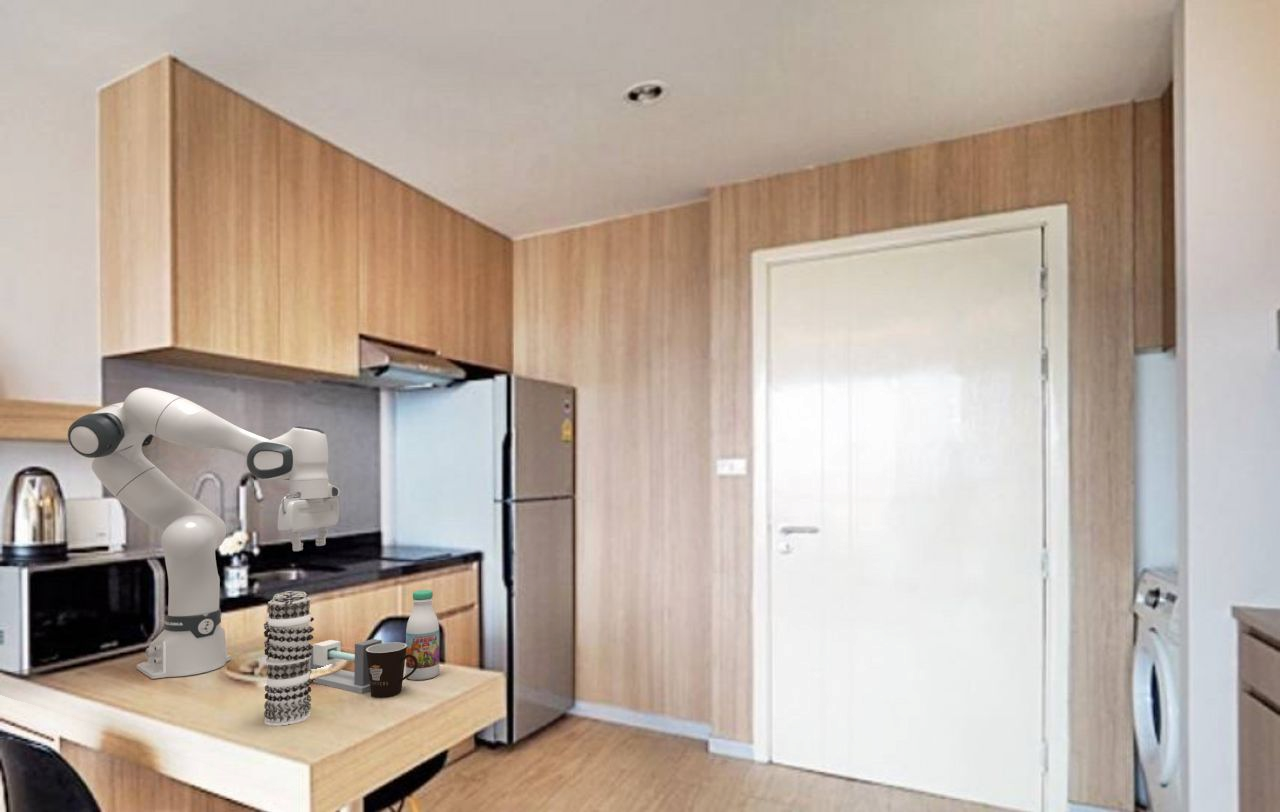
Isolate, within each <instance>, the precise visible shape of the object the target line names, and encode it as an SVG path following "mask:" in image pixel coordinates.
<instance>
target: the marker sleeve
mask: <svg viewBox="0 0 1280 812" xmlns="http://www.w3.org/2000/svg"><path fill="white" fill-rule="evenodd" d="M341 644H342V642H341V641H340V640H335V639H328V640H324V641H321V642H317V643H313V644H312V645H313V664H316V665H320V666H326V665H329V664H336V663H338V662H339V663H340V662H342V661H341V660H342V659H337V658H332V657H327V651H328V649H329V650H335V651H340V652H342V648H341V647H342V645H341Z"/></svg>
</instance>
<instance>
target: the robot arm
mask: <svg viewBox="0 0 1280 812" xmlns="http://www.w3.org/2000/svg"><path fill="white" fill-rule="evenodd" d="M154 437H155V438H158V439H160V440H162V441H166V442H167V443H172V444H174V445H179V446H182V447H188V448H199V449H200V448H203V449H219V450H225V451H229V452H232V453H236V454H238V455H241V456H243V457H246V467H247V469H248V471H249V473H250V474H251V475H252V476H253V477H255V478H258V479H261V480H265V481H266V480H267V481H274V480H275V481H278V480H284V481H289V493H286V494H285V495H284V497H283V499H281V503H280V504H279V508H278V516H277V531H278V532H279V534H288V538H289V540H290V542H291V544H292V551H293V552H300V551H303V549H304V547H303V546H304V542H301V538H300V537H301V535H302V532H304V531H305V532H306V531H310V530H315V529H317V532H318V535H317V538H315V546H316V547H321V546H322V547H323V546H325V545H326V543H327V542H326V538H327V536H328V533H329V528H330V527H332V526H337V524H338V522H339V518H340V502H339V498H338V497H340V495H341V494H340V493H341V490H340V488H338V487H337V486H335V485H333V484H331V483H330V482H329V479H330V478H329V474H328V466H329V462H330V461H329V459H330V458H329V447H328V445H329V444H328V438H327V435H326V433H325V431H323V430H322V429H319V428H315V427H308V426H294V427H292V428H291V429H290V430H288V431H287V432H285V433H283V434H281V435H280V436H279V435H278V436H277V437H274V438H272V439H270V438H268V437H265V436H262V435H259V434H258V433H254V432H252V431H249V430H247V429H245V428H242V427H240V426H237V425H235V424H233V423H232V422H230V421H228V420H226V419H225V418H223V417H220V416H219V415H217V414H215V413H214V412H211V411H210V410H208V409H206V408H204V407H203V406H202V405H199V404H197V403H195V402H193V401H191V400H189V399H187V398H185V397H182V396H180V395H176V394H174V393H172V392H167V391H166V390H165V391H163V390H160V389H157V388H152V387H140V388H137V389H135V390H133V391H131V392H130V393H129V394H128V395H127V397H125V399H124V401H122V402H117V403H113V404H109V405H107V406H104V407H102V408H101V409H98V410H96V411H94V412H93V411H92V413H88V414H85V415H83V416H81V417H79V418H78V419H76V420H75V421H73V422H72V423H71V424H70V426H69V428H68V430H67V440H68V443H69V446H70V447H71V448H72V449H73V451H75V452H76V453H77V454H79V455H81V456H82V457H85V458H90V459H93V460H92V462H91V470H92V472H93V473H94V475H95V476H96V478H98V480H99V481H100V483H101V484H102V485H103V486H104V487H105V488H106V489H107V491H108V492H109V493H110V494H111V495H113V496H114V497H115V498H116V499H117V500H118V501H119V502H120V503H121V504H123V506H125V507H126V508H127V509H128V510H129V511H131V512H132V513H133V515H134V516H136V517H137V518H138V519H139V520H141V521H143V522H145V523H147V524H149V525H150V526H152V527H153V528H155V529H156V530H158V531H160V532H162V534H161V535H162V536H161V539H160V545H161V548H162V550H163V553H164V562H165V567H166V572H167V581H168V602H167V603H168V606H167V607H168V609H167V614H166V615H164V616H163V618H164V619H163V627H162V628H163V630H162V631H161V633H159V634H158V636H157V637H155V639H154V640H152V641H151V643H150V644H149V646H148V647H147V648H146V649H145V657H146V658H147V660H144V661H143V662H140V663H138V664H136V669H137V670H138V671H139V672H141V673H142V674H144V675H145V676H147V677H148V678H150V679H161V678H162V679H163V678H170V677H171V678H172V677H176V678H177V677H185V676H192V675H198V674H203V673H207V672H212V671H214V670H216V669H217V670H218V669H219V668H222V667H224V666H225V665H226V663H227V662H229V661H230V660H232V657H231V654H227V644H226V630H225V628H223V627H222V626H221V625H220V624H221V622H222V611H221V610H222V609H221V608H220V591H221V590H220V589H221V588H220V586H221V585H220V582H221V579H220V575H219V573H218V566H217V560H216V550H217V549H219V548H220V547H221V546H222V544H223V543H224V542H225V539H226V536H227V525H226V523H225V522H224V520H223V519H222V518H221V517H219V516H218V515H216V514H215V513H214V512H213V511H211V509H210V508H208V507H206V506H205V505H204V504H202V503H201V502H199V501H198V500H197V499H196V498H194V497H193V496H191V495H190V494H188V493H187V492H185V491H184V490H183V489H182V488H181V487H179V486H178V485H177V484H176V483H174V481H172V480H171V479H170V478H169V477H168V476H167V475H166V474H165V473H163V472H162V470H160V469H159V467H157V466H156V465H155V464H154V463H152V462H151V461H150V460H149V459H148V458H147V457H146V456H145V455H144V453H143V450H142V448H143V447H146V446H150V445H151V444H152V441H153V440H154Z"/></svg>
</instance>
